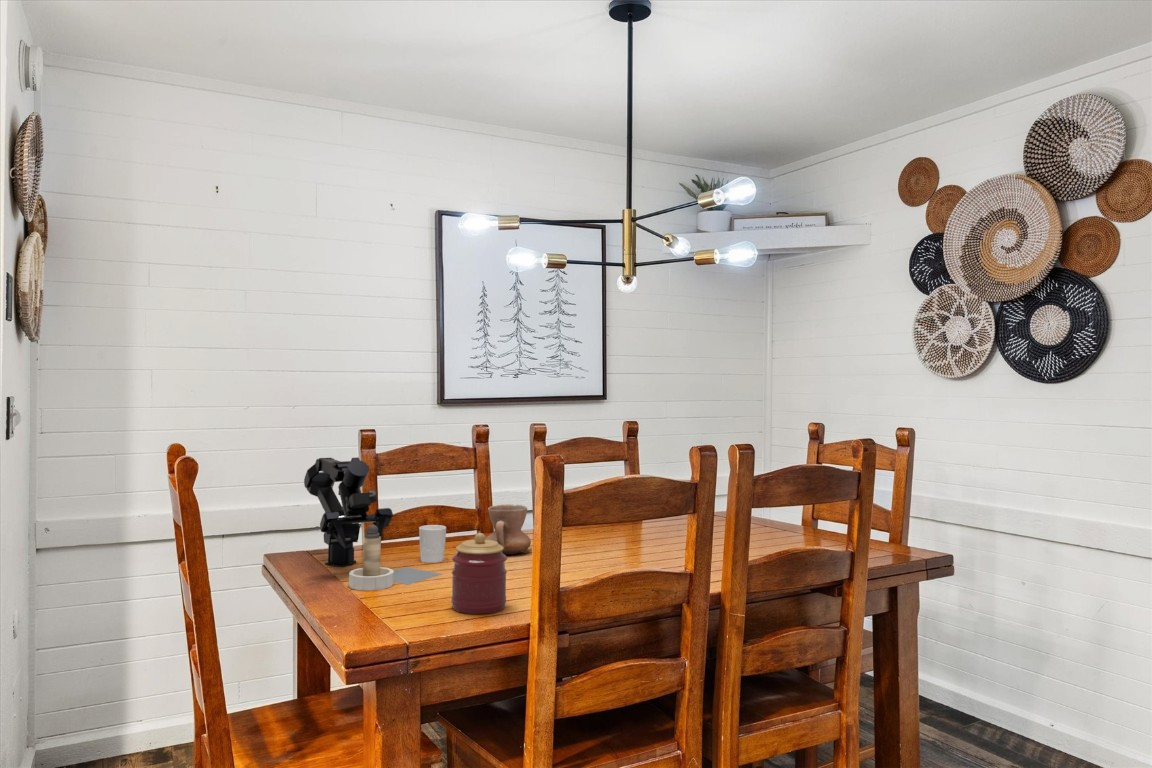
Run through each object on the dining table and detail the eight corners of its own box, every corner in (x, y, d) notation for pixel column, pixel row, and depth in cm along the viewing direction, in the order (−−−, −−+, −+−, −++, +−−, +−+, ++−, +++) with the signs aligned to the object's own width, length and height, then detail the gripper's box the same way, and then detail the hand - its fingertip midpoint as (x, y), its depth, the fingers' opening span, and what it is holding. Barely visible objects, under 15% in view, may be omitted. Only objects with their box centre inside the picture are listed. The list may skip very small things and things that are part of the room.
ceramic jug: (495, 544, 261) (495, 501, 261) (537, 547, 257) (537, 503, 257) (474, 557, 243) (474, 511, 243) (519, 560, 240) (519, 513, 239)
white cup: (439, 565, 232) (440, 530, 232) (414, 563, 233) (414, 529, 233) (449, 559, 239) (450, 525, 239) (424, 557, 241) (425, 524, 241)
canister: (459, 617, 182) (460, 540, 181) (445, 602, 193) (446, 529, 193) (513, 612, 187) (515, 536, 187) (496, 597, 199) (497, 526, 198)
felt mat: (368, 578, 215) (368, 577, 215) (404, 568, 227) (405, 567, 227) (407, 585, 208) (407, 584, 208) (443, 575, 220) (443, 573, 220)
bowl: (340, 588, 204) (340, 574, 204) (365, 578, 214) (365, 565, 214) (377, 593, 200) (377, 579, 200) (401, 583, 211) (401, 569, 211)
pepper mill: (359, 583, 207) (360, 524, 207) (374, 580, 210) (375, 522, 210) (367, 586, 204) (368, 526, 204) (383, 583, 207) (384, 524, 207)
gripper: (323, 482, 213) (334, 531, 204) (391, 479, 223) (404, 525, 214) (315, 507, 220) (325, 555, 211) (381, 503, 230) (393, 548, 221)
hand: (363, 545), depth 214 cm, fingers open, 9 cm apart
